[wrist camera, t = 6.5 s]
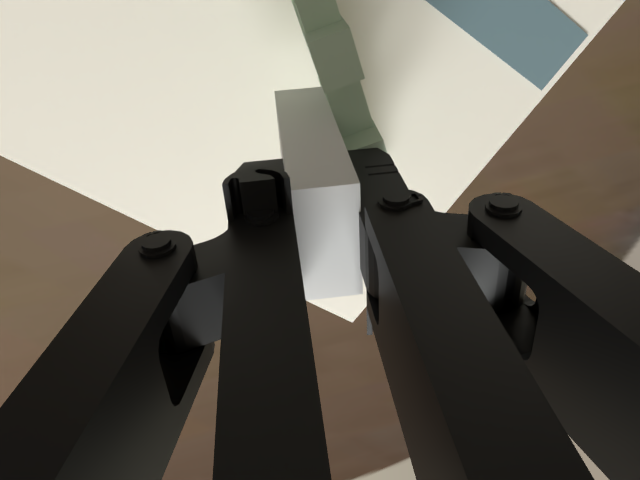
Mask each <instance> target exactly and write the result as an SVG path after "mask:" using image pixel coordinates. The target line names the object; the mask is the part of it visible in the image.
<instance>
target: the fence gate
mask: <svg viewBox="0 0 640 480" xmlns="http://www.w3.org/2000/svg"><path fill="white" fill-rule="evenodd" d="M291 1H292V4H293V7H294V10H295V12H296V15H297V18H298V21H299V24H300V27H301V30H302V33H303V36H304V38H305V41H306V44H307V47H308V49H309V52H310V55H311V58H312V61H313V63H314V66H315V69H316V72H317V74H318V79H319V82H320V85H321V87H322V88H323V91H324V94H325V95H326V98H327V100H328V103H329V105H330V108H331V110H332V113H333V116H334V118H335V121H336V123H337V126H338V128H339V131H340V133H341V136H342V138H343V141H344V143H345V146H346V149H347V150H357V149H368V148H379V149H381V150H382V151H384V152H386V153H387V151H386V147H385V144H384V141H383V138H382V136H381V135H380V133H379V131H378V129H377V127H376V125H375V123H374V121H373V120H372V118H371V115H370V112H369V108H368V105H367V102H366V98H365V95H364V92H363V89H362V85H361V82H360V80H363V79H365V77H364V73H363V70H362V67H361V63H360V60H359V57H358V53H357V50H356V46H355V43H354V40H353V36H352V33H351V30H350V27H349V26H348V24H347V23H346V22H345V20H344V19H343V18H342V16H341V15H340V13H339V9H338V6H337V3H336V0H291Z"/></svg>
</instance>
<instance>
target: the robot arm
mask: <svg viewBox="0 0 640 480" xmlns="http://www.w3.org/2000/svg"><path fill="white" fill-rule="evenodd" d="M274 93H275V103H276V112H277V122H278V131H279V141H280V151H281V159H272V160H262V161H252V162H244V163H243V164H242V165H241V166H240V167H239V168H238V169H237V170H236V171H235V172H234V173H232V174H231V175H229V176H228V177H226V178H225V179H224V181H223V183H222V188H223V194H224V200H225V206H226V212H227V218H228V230H226V231H225V232H224V233H223V234H221V235H219V236H217V237H215V238H213V239H211V240H208V241H205V242H202V243H198V244H195V245H193V241H192V239H191V237H190V236H189V235H187V234H185V233H183V232H181V231H174V230H164V231H161V230H158V231H153V232H152V233H151V232H149V233H146V234H144V235H142V236H140V237H138V238H136V239H134V240H133V241H131V242H130V243H129V244H128V245H127V246H126V247H125V248H124V249H123V250H122V252H121V253H120V254H119V255H118V257H117V258H116V259H115V261H114V262H113V263H112V264H111V266H110V267H109V268H108V270H107V271H106V272H105V274H104V275H103V276H102V277H101V279H100V280H99V281H98V283H97V284H96V285H95V286H94V288H93V289H92V290H91V292H90V293H89V294H88V295H87V297H86V298H85V299H84V301H83V302H82V303H81V304H80V306H79V307H78V308H77V310H76V311H75V312H74V313H73V315H72V316H71V317H70V319H69V320H68V321H67V322H66V324H65V325H64V326H63V328H62V329H61V330H60V332H59V333H58V334H57V335H56V337H55V338H54V339H53V341H52V342H51V343H50V344H49V346H48V347H47V348H46V350H45V351H44V352H43V353H42V355H41V356H40V357H39V359H38V360H37V361H36V362H35V364H34V365H33V366H32V368H31V369H30V370H29V371H28V373H27V374H26V375H25V377H24V378H23V379H22V381H21V382H20V383H19V384H18V386H17V387H16V388H15V390H14V391H13V392H12V393H11V395H10V396H9V397H8V399H7V400H6V401H5V402H4V404H3V405H2V406H1V408H0V480H161V479H162V477H163V475H164V472H165V470H166V467H167V465H168V462H169V460H170V458H171V455H172V453H173V450H174V448H175V445H176V443H177V441H178V438H179V436H180V433H181V431H182V428H183V426H184V424H185V421H186V419H187V416H188V414H189V412H190V409H191V407H192V404H193V402H194V399H195V397H196V395H197V392H198V390H199V387H200V385H201V382H202V380H203V378H204V375H205V373H206V370H207V368H208V365H209V363H210V361H211V358H212V356H213V353H214V346H215V344H214V341H217V340H220V339H221V348H220V365H219V382H218V399H217V415H216V432H215V449H214V466H213V480H331V474H330V467H329V460H328V453H327V446H326V439H325V432H324V425H323V418H322V411H321V404H320V397H319V390H318V383H317V376H316V369H315V362H314V355H313V348H312V341H311V334H310V327H309V320H308V313H307V306H306V300H315V299H324V298H333V297H342V296H350V295H359V294H363V280H364V283H365V286H366V298H367V335H372V332H373V331H374V335H375V338H376V341H377V345H378V348H379V352H380V355H381V359H382V362H383V366H384V369H385V373H386V376H387V379H388V383H389V386H390V390H391V393H392V397H393V400H394V404H395V407H396V410H397V414H398V417H399V421H400V424H401V428H402V431H403V435H404V438H405V442H406V445H407V448H408V452H409V455H410V459H411V462H412V466H413V469H414V473H415V476H416V479H417V480H594V478H593V477H592V475H591V473H590V472H589V470H588V468H587V466H586V465H585V463H584V461H583V460H582V458H581V456H580V455H579V453H578V451H577V450H576V448H575V446H574V445H573V443H572V441H571V440H570V438H569V436H570V437H571V438H572V439H573V441H574V442H575V443H576V444H577V445H578V446H579V447H580V448H581V449H582V450H583V451H584V453H586V455H587V456H588V457H589V458H590V459H591V460H592V461H593V462H594V463H595V464H596V465H597V467H598V468H599V469H600V470H601V471H602V472H603V473H604V474H605V475H606V476H607V477H608V478H609V479H610V480H640V272H638V271H637V270H635V269H633V268H632V267H630V266H629V265H627V264H626V263H624V262H623V261H621V260H620V259H618V258H617V257H615V256H614V255H612V254H611V253H609V252H608V251H606V250H604V249H603V248H601V247H600V246H598V245H597V244H595V243H594V242H592V241H591V240H589V239H588V238H586V237H585V236H583V235H582V234H580V233H579V232H577V231H576V230H574V229H572V228H571V227H569V226H568V225H566V224H565V223H563V222H562V221H560V220H559V219H557V218H556V217H554V216H553V215H551V214H550V213H548V212H547V211H545V210H543V209H542V208H540V207H539V206H537V205H536V204H534V203H533V202H531V201H529V200H527V199H525V198H523V197H520V196H516V195H512V194H510V193H503V194H501V193H493V194H486V195H482V196H479V197H477V198H474V199H473V200H472V201H471V202H470V203H469V211H468V215H467V214H451V213H442V212H437V211H435V210H434V209H433V207H432V205H431V204H430V202H429V200H428V199H427V198H426V197H425V196H424V195H423V194H421V193H418V192H416V191H413V190H409V189H408V187H407V185H406V184H405V182H404V180H403V178H402V176H401V175H400V173H399V172H398V169H397V167H396V165H394V162H393V160H392V158H391V156H390V155H389V154H388V153H386V152H384V151H382V150H381V149H379V148H368V149H357V150H347V149H346V146H345V143H344V141H343V138H342V136H341V133H340V131H339V128H338V126H337V123H336V121H335V118H334V116H333V113H332V110H331V108H330V105H329V103H328V100H327V98H326V95H325V94H324V91H323V88H322V87H312V88H302V89H290V90H279V91H274ZM362 277H363V278H362ZM527 285H528V286H529V287H530V288H531V289H532V290H533V292H534V294H535V296H536V301H535V302H534V301H532V300H531V299H530V298H529V297H528V296H526V295H525V293H526V287H527ZM568 435H569V436H568Z"/></svg>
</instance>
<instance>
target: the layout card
mask: <svg viewBox="0 0 640 480" xmlns="http://www.w3.org/2000/svg"><path fill="white" fill-rule="evenodd" d="M624 1H625V0H336V3H337V6H338V9H339V13H340V15H341V16H342V18H343V19H344V20H345V22H346V23H347V24H348V26H349V27H350V30H351V33H352V36H353V40H354V43H355V46H356V50H357V53H358V57H359V60H360V63H361V67H362V70H363V73H364V77H365V79H363V80H360V82H361V85H362V89H363V92H364V95H365V98H366V102H367V105H368V108H369V112H370V115H371V118H372V120H373V121H374V123H375V125H376V127H377V129H378V131H379V133H380V135H381V136H382V138H383V141H384V144H385V147H386V151H387V153H388V154H389V155H390V156H391V158H392V160H393V162H394V165H396V167H397V169H398V172H399V173H400V175H401V176H402V178H403V180H404V182H405V184H406V185H407V187H408V189H409V190H413V191H416V192H418V193H421V194H423V195H424V196H425V197H426V198H427V199H428V200H429V202H430V204H431V205H432V207H433V209H434V210H435V211H437V212H442V213H446V211H447V210H448V209H449V208H450V207H451V206H452V204H453V203H454V202H455V201H456V200H457V198H458V197H459V196H460V195H461V194H462V193H463V191H464V190H465V189H466V188H467V187H468V185H469V184H470V183H471V182H472V181H473V180H474V178H475V177H476V176H477V175H478V174H479V172H480V171H481V170H482V169H483V168H484V167H485V165H486V164H487V163H488V162H489V161H490V159H491V158H492V157H493V156H494V155H495V154H496V152H497V151H498V150H499V149H500V148H501V147H502V145H503V144H504V143H505V142H506V141H507V139H508V138H509V137H510V136H511V135H512V134H513V132H514V131H515V130H516V129H517V128H518V126H519V125H520V124H521V123H522V122H523V121H524V119H525V118H526V117H527V116H528V115H529V113H530V112H531V111H532V110H533V109H534V108H535V106H536V105H537V104H538V103H539V102H540V100H541V99H542V98H543V97H544V96H545V95H546V93H547V92H548V91H549V90H550V89H551V87H552V86H553V85H554V84H555V83H556V82H557V80H558V79H559V78H560V77H561V76H562V74H563V73H564V72H565V71H566V70H567V69H568V67H569V66H570V65H571V64H572V63H573V62H574V60H575V59H576V58H577V57H578V56H579V54H580V53H581V52H582V51H583V50H584V49H585V47H586V46H587V45H588V44H589V43H590V41H591V40H592V39H593V38H594V37H595V36H596V34H597V33H598V32H599V31H600V30H601V28H602V27H603V26H604V25H605V24H606V23H607V21H608V20H609V19H610V18H611V17H612V15H613V14H614V13H615V12H616V11H617V10H618V8H619V7H620V6H621V5H622V4H623V2H624ZM312 87H321V85H320V82H319V79H318V74H317V72H316V69H315V66H314V63H313V61H312V58H311V55H310V52H309V49H308V47H307V44H306V41H305V38H304V36H303V33H302V30H301V27H300V24H299V21H298V18H297V15H296V12H295V10H294V7H293V4H292V1H291V0H0V155H1V156H3V157H5V158H7V159H9V160H11V161H13V162H15V163H17V164H20V165H22V166H24V167H26V168H28V169H30V170H32V171H34V172H36V173H38V174H41V175H43V176H45V177H47V178H49V179H51V180H53V181H55V182H57V183H60V184H62V185H64V186H66V187H68V188H70V189H72V190H74V191H76V192H79V193H81V194H83V195H85V196H87V197H89V198H91V199H93V200H95V201H97V202H100V203H102V204H104V205H106V206H108V207H110V208H112V209H114V210H116V211H119V212H121V213H123V214H125V215H127V216H129V217H131V218H133V219H135V220H138V221H140V222H142V223H144V224H146V225H148V226H150V227H152V228H154V229H156V230H161V231H164V230H174V231H181V232H183V233H185V234H187V235H189V236H190V237H191V239H192V241H193V245H195V244H198V243H202V242H205V241H208V240H211V239H213V238H215V237H217V236H219V235H221V234H223V233H224V232H225V231H226V230H228V218H227V212H226V206H225V200H224V194H223V188H222V183H223V181H224V179H225V178H226V177H228V176H229V175H231V174H232V173H234V172H235V171H236V170H237V169H238V168H239V167H240V166H241V165H242V164H243V163H244V162H252V161H262V160H272V159H281V151H280V141H279V131H278V122H277V112H276V103H275V93H274V91H279V90H290V89H302V88H312ZM362 278H363V277H362ZM306 301H308V302H310V303H312V304H314V305H317V306H319V307H321V308H323V309H325V310H327V311H329V312H331V313H333V314H336V315H338V316H340V317H342V318H344V319H346V320H348V321H350V322H353V321H354V320H355V319H356V318H357V317H358V315H359V314H360V313H361V312H362V311H363V309H364V308H365V307H366V306H367V298H366V286H365V283H364V280H363V294H359V295H350V296H342V297H333V298H324V299H315V300H306Z"/></svg>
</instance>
